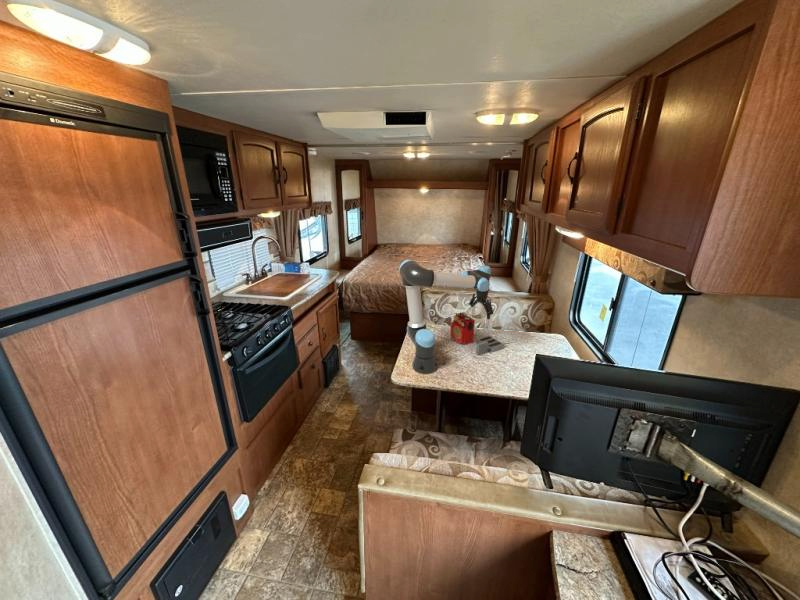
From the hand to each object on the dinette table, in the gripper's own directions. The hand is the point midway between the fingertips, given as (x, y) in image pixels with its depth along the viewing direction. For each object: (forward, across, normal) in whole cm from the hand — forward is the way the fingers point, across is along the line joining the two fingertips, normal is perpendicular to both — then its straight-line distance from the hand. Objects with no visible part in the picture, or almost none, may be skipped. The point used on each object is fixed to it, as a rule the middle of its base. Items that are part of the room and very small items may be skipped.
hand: (479, 319), depth 205 cm
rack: (+21, -4, -9) cm, 23 cm away
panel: (+21, -8, +4) cm, 23 cm away
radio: (+21, +13, +3) cm, 25 cm away
